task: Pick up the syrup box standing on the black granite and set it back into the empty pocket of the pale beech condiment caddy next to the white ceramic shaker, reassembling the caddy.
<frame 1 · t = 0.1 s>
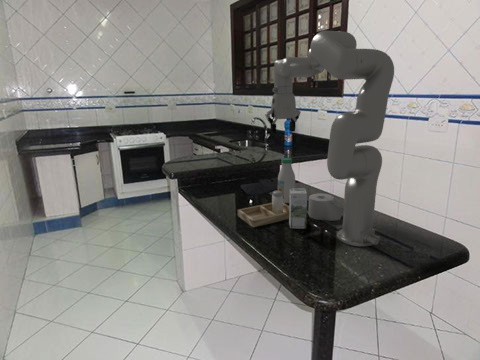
hand: (283, 132, 140), 31 cm above the countertop, fingers open, 9 cm apart
syrup box: (297, 228, 120), on the countertop
milk bottle: (286, 202, 146), on the countertop
toilet tissue: (323, 219, 127), on the countertop
shaker: (277, 213, 131), point 1 cm above the countertop, touching caddy
caddy: (267, 218, 129), on the countertop
dark slate chunk: (262, 190, 167), on the countertop
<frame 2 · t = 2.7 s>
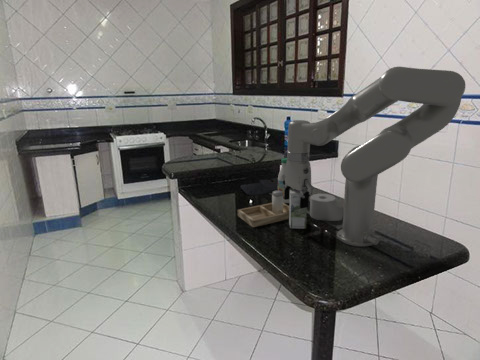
hand: (295, 203, 117), 10 cm above the countertop, fingers open, 9 cm apart
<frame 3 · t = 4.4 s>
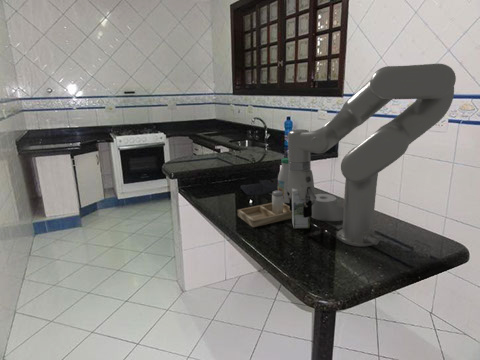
hand: (300, 212, 118), 6 cm above the countertop, fingers closed on syrup box, 7 cm apart
syrup box: (300, 226, 119), point 1 cm above the countertop, touching gripper
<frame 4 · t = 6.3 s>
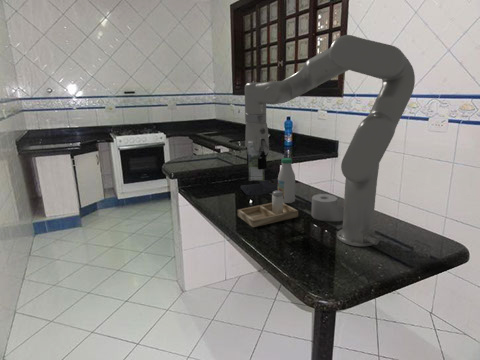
hand: (256, 166, 121), 22 cm above the countertop, fingers closed on syrup box, 7 cm apart
syrup box: (256, 179, 122), point 17 cm above the countertop, touching gripper
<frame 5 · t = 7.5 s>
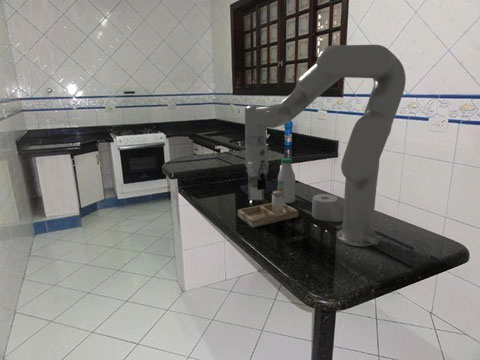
hand: (255, 186, 123), 14 cm above the countertop, fingers closed on syrup box, 7 cm apart
syrup box: (256, 198, 125), point 9 cm above the countertop, touching gripper
when the fingers open (7 cm above the countertop, at t = 9.1 s): syrup box stays where it is, point 2 cm above the countertop.
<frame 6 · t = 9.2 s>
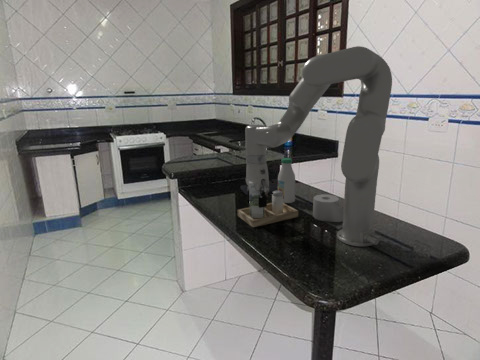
hand: (257, 203, 125), 7 cm above the countertop, fingers open, 8 cm apart
syrup box: (257, 217, 126), point 2 cm above the countertop
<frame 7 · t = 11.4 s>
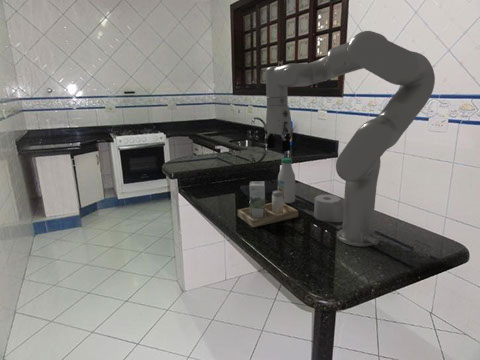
hand: (278, 149, 122), 28 cm above the countertop, fingers open, 9 cm apart
syrup box: (257, 219, 127), point 1 cm above the countertop, touching caddy
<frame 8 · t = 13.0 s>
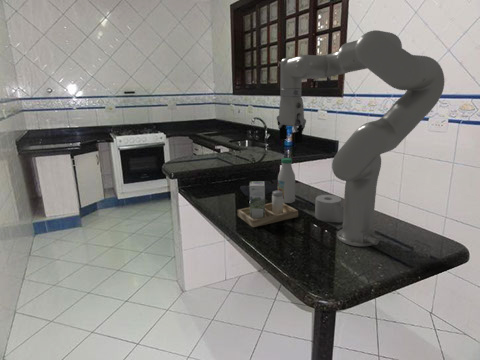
hand: (290, 140, 123), 30 cm above the countertop, fingers open, 9 cm apart
at the end: syrup box inside the target area on the caddy (0.3 cm from its centre), point 0.8 cm above the caddy's base; syrup box tilted 0°; shaker moved 0.0 cm from its start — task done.
